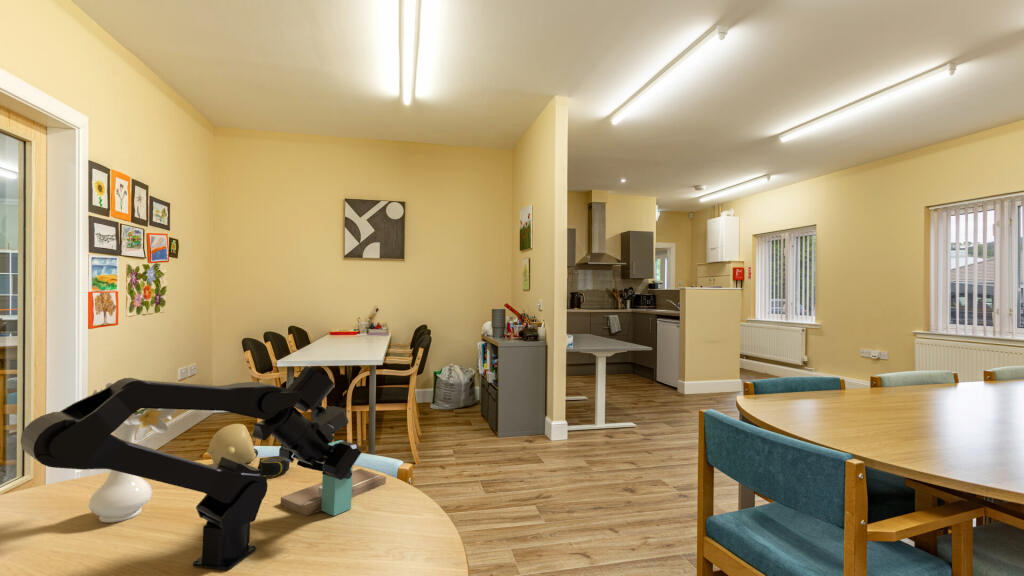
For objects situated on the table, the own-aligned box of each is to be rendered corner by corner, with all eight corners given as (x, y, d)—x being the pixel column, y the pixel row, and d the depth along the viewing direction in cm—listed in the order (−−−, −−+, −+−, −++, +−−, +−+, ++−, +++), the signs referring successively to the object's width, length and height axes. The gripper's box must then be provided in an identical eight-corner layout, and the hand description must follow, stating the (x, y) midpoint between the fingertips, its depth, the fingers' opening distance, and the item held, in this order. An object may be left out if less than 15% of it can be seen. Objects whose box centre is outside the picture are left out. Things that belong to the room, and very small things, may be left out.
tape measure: (289, 467, 115) (290, 452, 115) (288, 477, 109) (288, 461, 109) (258, 471, 112) (259, 455, 112) (255, 481, 106) (256, 465, 106)
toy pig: (250, 481, 114) (272, 443, 122) (231, 456, 107) (255, 417, 115) (214, 478, 115) (237, 440, 123) (192, 452, 107) (218, 414, 116)
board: (306, 516, 89) (306, 508, 89) (280, 504, 94) (280, 496, 94) (385, 483, 106) (385, 476, 106) (360, 474, 110) (360, 468, 111)
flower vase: (126, 538, 79) (133, 394, 80) (49, 524, 84) (57, 387, 85) (194, 506, 92) (200, 382, 93) (124, 495, 96) (130, 377, 97)
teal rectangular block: (334, 515, 89) (336, 448, 89) (312, 506, 93) (314, 442, 93) (351, 508, 92) (353, 443, 93) (329, 499, 96) (331, 437, 96)
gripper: (354, 401, 84) (397, 447, 93) (295, 390, 94) (339, 432, 103) (314, 456, 77) (365, 500, 86) (255, 437, 87) (305, 478, 96)
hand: (343, 474), depth 93 cm, fingers closed on teal rectangular block, 4 cm apart
